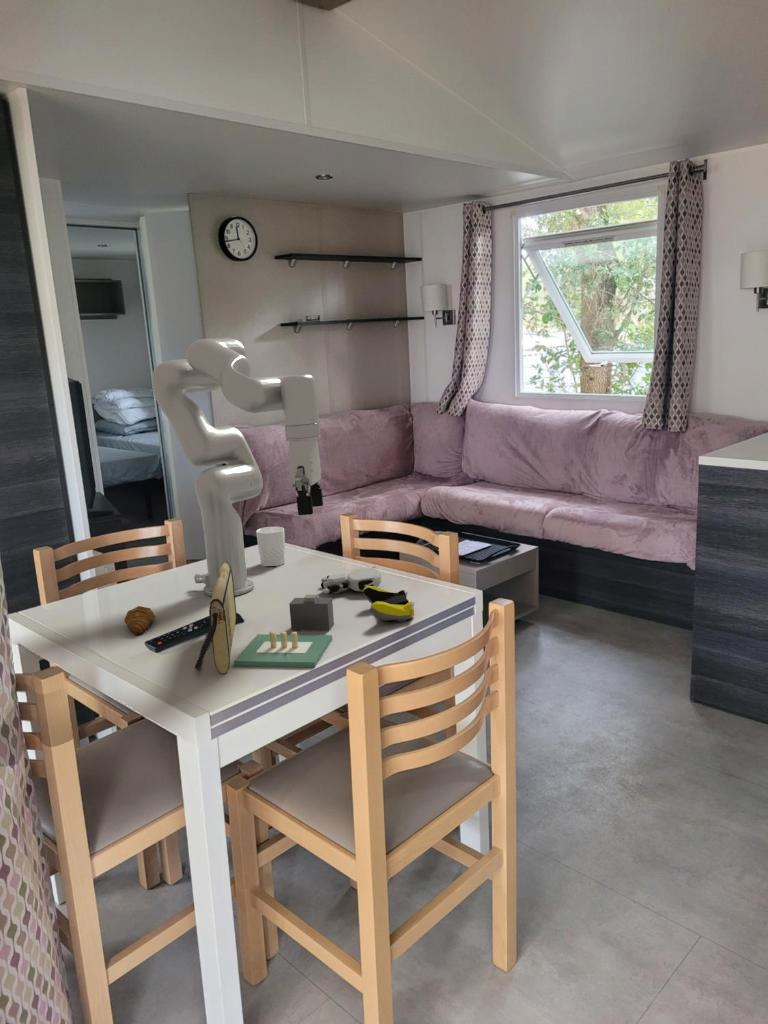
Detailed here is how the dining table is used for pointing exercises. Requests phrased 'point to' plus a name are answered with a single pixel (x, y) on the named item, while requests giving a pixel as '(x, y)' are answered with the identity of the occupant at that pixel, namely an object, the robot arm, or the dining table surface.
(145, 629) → the croissant
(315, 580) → the dining table surface
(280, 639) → the pin board
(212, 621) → the clutch purse
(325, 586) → the robot toy
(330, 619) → the block
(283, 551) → the white cup
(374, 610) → the yellow black shoe
